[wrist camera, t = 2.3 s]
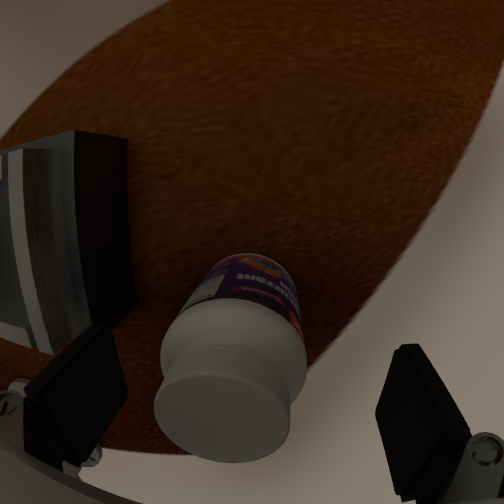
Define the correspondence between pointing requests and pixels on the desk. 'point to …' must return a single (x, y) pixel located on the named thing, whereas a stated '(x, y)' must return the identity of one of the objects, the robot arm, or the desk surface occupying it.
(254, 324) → the pill bottle
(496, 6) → the desk surface
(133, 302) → the grey open box
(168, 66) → the desk surface
